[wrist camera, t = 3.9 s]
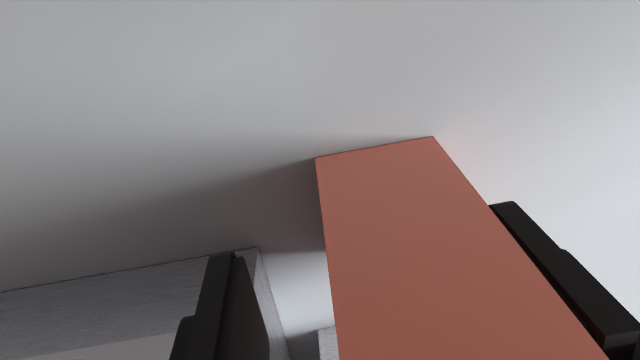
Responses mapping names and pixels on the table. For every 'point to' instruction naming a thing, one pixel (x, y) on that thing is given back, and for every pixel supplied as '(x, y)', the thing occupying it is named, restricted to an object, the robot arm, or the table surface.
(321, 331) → the tilted grey slab block
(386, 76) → the table surface
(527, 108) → the table surface
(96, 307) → the square hole plate
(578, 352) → the pin
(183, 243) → the table surface
